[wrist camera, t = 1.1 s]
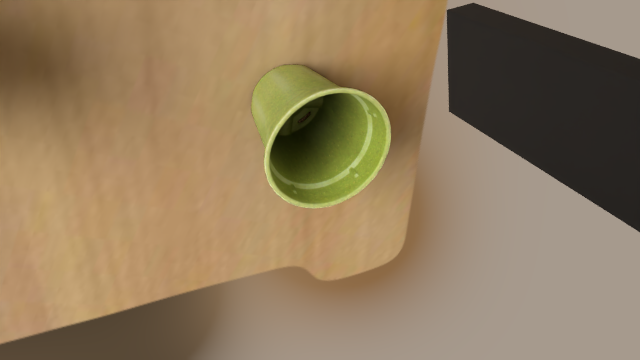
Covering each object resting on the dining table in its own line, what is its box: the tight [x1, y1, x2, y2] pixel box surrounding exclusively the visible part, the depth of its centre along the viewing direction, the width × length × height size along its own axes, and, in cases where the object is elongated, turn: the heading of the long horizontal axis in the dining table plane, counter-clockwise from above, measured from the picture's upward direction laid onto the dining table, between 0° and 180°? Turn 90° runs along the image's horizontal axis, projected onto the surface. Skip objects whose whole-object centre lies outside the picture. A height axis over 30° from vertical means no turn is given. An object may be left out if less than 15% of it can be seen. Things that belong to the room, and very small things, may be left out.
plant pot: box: [251, 65, 391, 208], centre depth 43 cm, size 9×9×9 cm
